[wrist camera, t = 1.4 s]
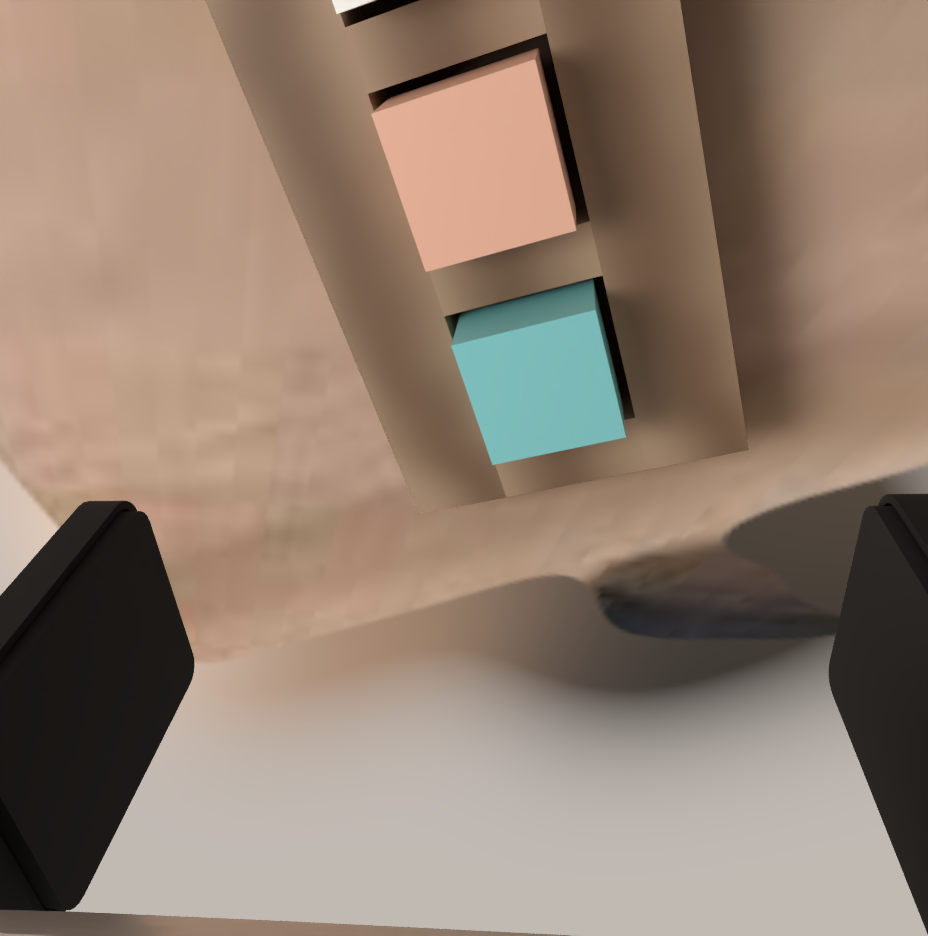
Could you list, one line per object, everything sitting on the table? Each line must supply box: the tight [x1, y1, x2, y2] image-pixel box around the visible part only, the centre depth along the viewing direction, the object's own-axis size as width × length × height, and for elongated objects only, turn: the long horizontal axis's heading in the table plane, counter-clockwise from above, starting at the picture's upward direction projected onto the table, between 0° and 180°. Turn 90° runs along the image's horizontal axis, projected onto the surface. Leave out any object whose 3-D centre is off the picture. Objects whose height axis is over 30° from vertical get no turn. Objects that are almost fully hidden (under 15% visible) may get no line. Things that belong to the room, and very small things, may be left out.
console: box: [205, 0, 749, 514], centre depth 28 cm, size 14×27×3 cm, turn 17°
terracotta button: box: [371, 48, 576, 272], centre depth 27 cm, size 5×5×3 cm
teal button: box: [451, 279, 626, 465], centre depth 31 cm, size 5×5×3 cm
